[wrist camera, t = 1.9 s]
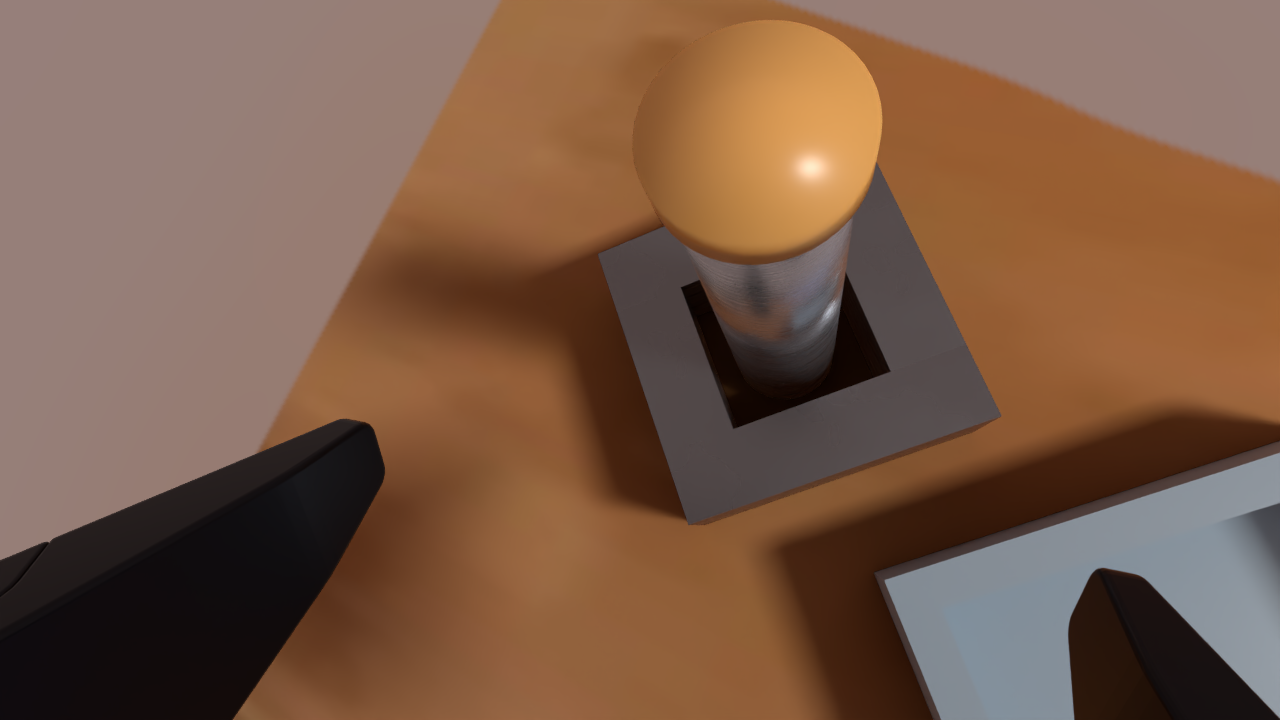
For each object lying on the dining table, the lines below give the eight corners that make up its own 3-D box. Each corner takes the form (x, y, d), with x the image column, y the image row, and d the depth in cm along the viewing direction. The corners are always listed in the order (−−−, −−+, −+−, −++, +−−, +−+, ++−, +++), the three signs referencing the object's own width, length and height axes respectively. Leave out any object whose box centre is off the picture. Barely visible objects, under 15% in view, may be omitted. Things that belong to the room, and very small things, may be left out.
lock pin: (752, 421, 22) (676, 281, 9) (715, 324, 23) (602, 81, 10) (857, 383, 21) (926, 182, 9) (815, 286, 22) (823, -19, 10)
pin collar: (704, 524, 21) (688, 524, 19) (622, 286, 24) (597, 253, 21) (974, 431, 20) (1001, 415, 17) (859, 190, 23) (866, 142, 20)
